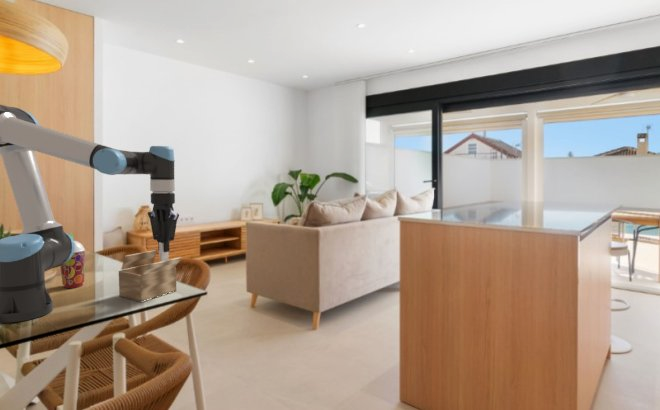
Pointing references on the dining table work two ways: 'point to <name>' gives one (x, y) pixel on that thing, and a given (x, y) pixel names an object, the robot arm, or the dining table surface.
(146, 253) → the far flap
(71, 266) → the smoothie
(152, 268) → the near flap
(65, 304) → the dining table surface
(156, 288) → the carton
